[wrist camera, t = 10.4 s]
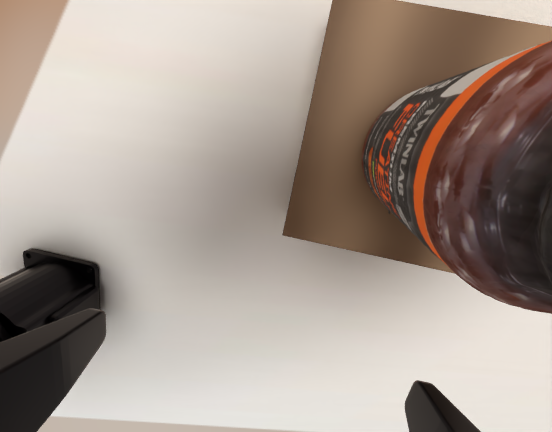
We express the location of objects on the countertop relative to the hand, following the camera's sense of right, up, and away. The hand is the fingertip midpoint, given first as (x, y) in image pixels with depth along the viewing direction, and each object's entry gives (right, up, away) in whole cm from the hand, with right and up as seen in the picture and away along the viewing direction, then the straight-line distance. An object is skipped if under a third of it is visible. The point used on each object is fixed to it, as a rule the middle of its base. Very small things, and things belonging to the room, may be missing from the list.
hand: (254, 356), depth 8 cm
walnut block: (+8, +8, +10) cm, 15 cm away
